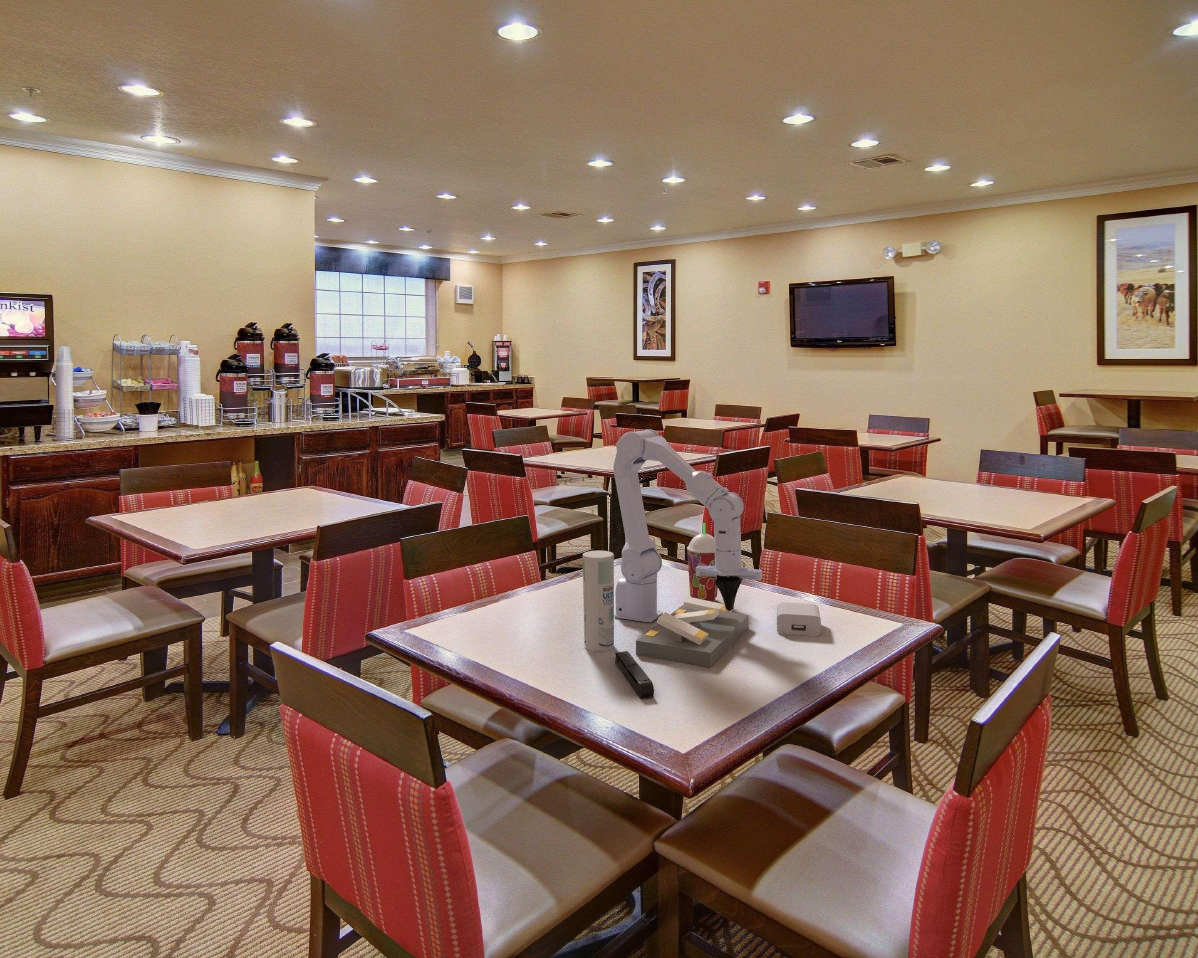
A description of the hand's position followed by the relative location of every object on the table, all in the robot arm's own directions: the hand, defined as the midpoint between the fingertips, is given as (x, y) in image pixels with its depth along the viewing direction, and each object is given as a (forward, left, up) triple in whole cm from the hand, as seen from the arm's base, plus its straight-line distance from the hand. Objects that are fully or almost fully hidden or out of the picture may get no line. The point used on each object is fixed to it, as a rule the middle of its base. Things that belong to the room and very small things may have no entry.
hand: (729, 609), depth 167 cm
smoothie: (-13, +20, -6) cm, 25 cm away
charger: (+12, +13, -6) cm, 18 cm away
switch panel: (-5, -8, -5) cm, 11 cm away
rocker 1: (-5, -16, -1) cm, 17 cm away
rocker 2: (-5, -8, -1) cm, 10 cm away
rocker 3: (-5, 0, -1) cm, 5 cm away
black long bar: (-8, -33, -6) cm, 34 cm away
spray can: (-22, -20, -6) cm, 30 cm away
